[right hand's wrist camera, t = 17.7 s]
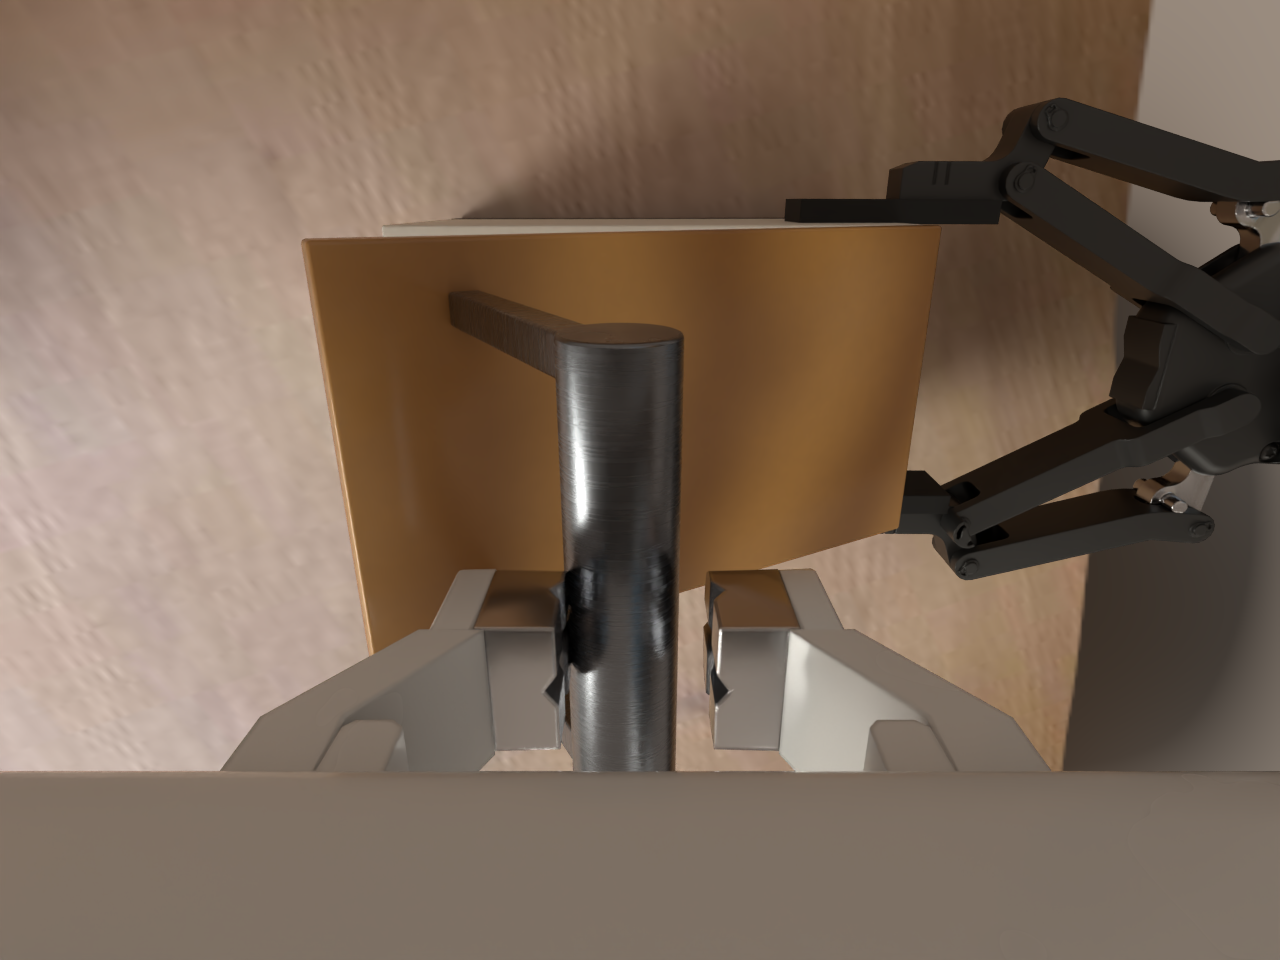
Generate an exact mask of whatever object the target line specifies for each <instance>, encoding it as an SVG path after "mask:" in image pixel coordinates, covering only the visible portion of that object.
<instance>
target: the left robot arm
mask: <svg viewBox="0 0 1280 960" xmlns="http://www.w3.org/2000/svg"><path fill="white" fill-rule="evenodd" d="M1002 134H1003V136H1002V138H1001V140H1000V142H999V144H998V146H997V148H996V149H995V151H994V152H993V153H992V155H991V156H990V157H988V158H987V159H985V160H984V161H918V162H911V163H905V164H902V165H900V166H897V167H895V168H892V169H890V170H889V178H888V186H887V195H886V199H786V206H785V220H784V221H788V222H795V223H908V224H998V222H999V217H1000V213H1002V214H1003V215H1005V216H1006V217H1008V218H1009V219H1011V220H1013V221H1014V222H1016V223H1017V224H1019V225H1020V226H1022V227H1023V228H1025V229H1026V230H1028V231H1029V232H1031V233H1032V234H1034V235H1035V236H1037V237H1038V238H1040V239H1041V240H1043V241H1044V242H1046V243H1047V244H1049V245H1050V246H1052V247H1053V248H1055V249H1056V250H1058V251H1059V252H1061V253H1062V254H1064V255H1066V256H1067V257H1069V258H1070V259H1072V260H1073V261H1075V262H1076V263H1078V264H1079V265H1081V266H1082V267H1084V268H1085V269H1087V270H1088V271H1090V272H1091V273H1093V274H1094V275H1096V276H1097V277H1099V278H1100V279H1102V280H1103V281H1105V282H1106V283H1108V284H1109V285H1110V286H1111V287H1110V288H1111V289H1112V290H1113V291H1114V292H1116V293H1117V294H1119V295H1120V296H1122V297H1123V298H1125V299H1126V300H1128V301H1129V302H1131V303H1132V304H1134V305H1135V306H1137V307H1138V308H1140V310H1139V312H1138V314H1137V315H1136V316H1129V317H1128V321H1127V325H1126V329H1125V334H1124V358H1123V360H1122V362H1121V364H1120V366H1119V368H1118V370H1117V372H1116V374H1115V375H1114V378H1113V382H1112V386H1111V390H1110V394H1109V396H1110V397H1112V399H1110V400H1108V401H1106V402H1104V403H1102V404H1099V405H1097V406H1095V407H1093V408H1091V409H1089V410H1087V411H1085V412H1083V413H1082V414H1081V415H1080V418H1079V420H1078V421H1077V422H1076V423H1074V424H1071V425H1069V426H1067V427H1065V428H1063V429H1061V430H1059V431H1056V432H1054V433H1052V434H1050V435H1048V436H1046V437H1044V438H1042V439H1039V440H1037V441H1035V442H1033V443H1031V444H1029V445H1027V446H1024V447H1022V448H1020V449H1018V450H1016V451H1014V452H1012V453H1010V454H1007V455H1005V456H1003V457H1001V458H999V459H997V460H995V461H992V462H990V463H988V464H986V465H984V466H982V467H980V468H978V469H975V470H973V471H971V472H969V473H967V474H965V475H963V476H960V477H958V478H956V479H954V480H952V481H950V482H948V483H946V484H943V485H941V486H940V485H939V484H938V483H937V482H936V481H935V480H934V479H933V478H932V477H931V476H930V475H929V474H928V473H927V472H926V471H907V472H906V479H905V486H904V493H903V500H902V507H901V514H900V521H899V527H898V528H897V529H894V530H890V531H887V532H884V533H885V534H894V533H896V534H933V536H934V537H933V539H932V544H933V547H934V548H935V550H936V551H937V552H938V553H939V554H940V556H941V557H942V558H943V559H944V560H945V562H946V563H947V564H948V565H949V566H950V568H951V569H952V570H953V571H954V572H955V574H956V575H957V576H958V577H959V578H961V579H964V580H973V579H977V578H982V577H986V576H991V575H995V574H1000V573H1004V572H1009V571H1013V570H1018V569H1022V568H1027V567H1031V566H1036V565H1040V564H1044V563H1049V562H1053V561H1058V560H1062V559H1067V558H1071V557H1076V556H1080V555H1085V554H1089V553H1094V552H1098V551H1102V550H1107V549H1111V548H1116V547H1120V546H1125V545H1129V544H1134V543H1138V542H1143V541H1147V540H1161V541H1173V542H1185V543H1199V542H1201V541H1204V540H1206V539H1207V538H1208V537H1209V536H1210V535H1211V534H1212V532H1213V531H1214V527H1215V524H1214V520H1213V519H1212V518H1211V517H1210V516H1208V515H1206V514H1204V513H1202V512H1201V508H1202V506H1203V503H1204V501H1205V498H1206V496H1207V493H1208V491H1209V488H1210V486H1211V484H1212V481H1213V479H1214V476H1215V475H1221V474H1224V473H1227V472H1230V471H1232V470H1234V469H1236V468H1239V467H1241V466H1245V465H1248V464H1253V463H1267V464H1280V160H1276V161H1260V162H1259V161H1256V160H1253V159H1250V158H1247V157H1244V156H1240V155H1237V154H1234V153H1231V152H1228V151H1225V150H1222V149H1219V148H1216V147H1213V146H1210V145H1207V144H1204V143H1201V142H1198V141H1195V140H1192V139H1189V138H1186V137H1182V136H1179V135H1176V134H1173V133H1170V132H1167V131H1164V130H1161V129H1158V128H1155V127H1152V126H1149V125H1146V124H1143V123H1140V122H1137V121H1134V120H1131V119H1128V118H1125V117H1122V116H1118V115H1115V114H1112V113H1109V112H1106V111H1103V110H1100V109H1097V108H1094V107H1091V106H1088V105H1085V104H1082V103H1079V102H1076V101H1073V100H1070V99H1067V98H1056V99H1052V100H1048V101H1044V102H1040V103H1036V104H1032V105H1028V106H1024V107H1020V108H1017V109H1014V110H1013V111H1012V112H1011V113H1009V114H1008V115H1007V117H1006V119H1005V120H1004V122H1003V126H1002ZM1049 157H1050V158H1054V159H1057V160H1060V161H1063V162H1066V163H1069V164H1072V165H1075V166H1079V167H1082V168H1085V169H1088V170H1091V171H1094V172H1097V173H1101V174H1104V175H1107V176H1110V177H1113V178H1116V179H1119V180H1123V181H1126V182H1129V183H1132V184H1135V185H1138V186H1141V187H1145V188H1148V189H1151V190H1154V191H1157V192H1160V193H1163V194H1166V195H1170V196H1173V197H1176V198H1180V199H1184V200H1189V201H1198V202H1213V203H1212V205H1211V207H1210V212H1211V214H1212V215H1214V216H1217V219H1218V221H1219V222H1220V223H1222V224H1223V225H1228V226H1232V227H1234V228H1236V229H1237V231H1238V232H1239V234H1240V244H1237V245H1235V246H1233V247H1231V248H1229V249H1228V250H1226V251H1225V252H1223V253H1221V254H1220V255H1218V256H1217V257H1215V258H1213V259H1212V260H1210V261H1208V262H1207V263H1205V264H1204V265H1202V266H1200V267H1199V268H1197V267H1194V266H1192V265H1189V264H1186V263H1184V262H1181V261H1179V260H1177V259H1176V258H1174V257H1173V256H1171V255H1170V254H1168V253H1167V252H1166V251H1164V250H1163V249H1161V248H1160V247H1158V246H1157V245H1155V244H1154V243H1152V242H1151V241H1149V240H1148V239H1147V238H1145V237H1144V236H1142V235H1141V234H1139V233H1138V232H1136V231H1135V230H1133V229H1132V228H1130V227H1129V226H1127V225H1126V224H1125V223H1123V222H1122V221H1120V220H1119V219H1117V218H1116V217H1114V216H1113V215H1111V214H1110V213H1108V212H1107V211H1106V210H1104V209H1103V208H1101V207H1100V206H1098V205H1097V204H1095V203H1094V202H1092V201H1091V200H1089V199H1088V198H1086V197H1085V196H1084V195H1082V194H1081V193H1079V192H1078V191H1076V190H1075V189H1073V188H1072V187H1070V186H1069V185H1067V184H1066V183H1065V182H1063V181H1062V180H1060V179H1059V178H1057V177H1056V176H1054V175H1053V174H1051V173H1050V172H1048V171H1047V170H1045V169H1044V167H1045V165H1046V163H1047V161H1048V159H1049ZM1166 456H1167V457H1169V458H1170V459H1171V460H1172V461H1174V462H1175V464H1174V466H1173V468H1172V469H1171V470H1170V471H1169V472H1168V473H1167V474H1165V475H1163V476H1161V477H1157V478H1151V479H1148V480H1146V479H1138V480H1137V481H1136V482H1135V483H1134V485H1133V489H1111V490H1106V491H1100V492H1096V493H1092V494H1087V495H1083V496H1079V497H1074V498H1070V499H1066V500H1061V501H1057V502H1053V503H1049V504H1044V505H1041V504H1043V503H1045V502H1048V501H1050V500H1052V499H1054V498H1056V497H1059V496H1061V495H1063V494H1065V493H1067V492H1070V491H1072V490H1074V489H1076V488H1079V487H1081V486H1083V485H1085V484H1087V483H1090V482H1092V481H1094V480H1096V479H1098V478H1101V477H1103V476H1105V475H1107V474H1110V473H1112V472H1114V471H1116V470H1118V469H1121V468H1124V467H1141V466H1145V465H1148V464H1151V463H1153V462H1155V461H1157V460H1160V459H1162V458H1164V457H1166ZM1039 505H1040V506H1039ZM880 534H883V533H880Z"/></svg>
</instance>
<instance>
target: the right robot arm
mask: <svg viewBox="0 0 1280 960" xmlns="http://www.w3.org/2000/svg"><path fill="white" fill-rule="evenodd" d="M705 605H706V612H707V619H708V622H707V623H706V624H705V626H704V630H703V668H704V680H705V689H706V693H707V694H708V695H710V697H709V718H710V725H711V732H712V739H713V746H714V749H725V750H762V751H779V754H780V755H781V756H782V757H783V759H784V760H785V761H786V762H787V763H788V764H789V765H790V766H791V767H792V768H793V769H794V770H795V771H479V770H480V769H481V768H482V767H483V766H484V765H485V764H486V763H487V762H488V761H489V760H490V759H491V758H492V757H493V756H494V755H495V751H512V750H548V749H560V747H561V740H562V734H563V728H564V721H565V715H566V714H565V695H566V694H567V693H569V686H570V678H571V637H570V631H569V628H568V624H567V616H568V610H569V592H568V571H548V570H496V569H469V570H460V571H459V572H458V573H457V575H456V577H455V579H454V581H453V583H452V585H451V587H450V589H449V591H448V593H447V595H446V597H445V599H444V601H443V603H442V605H441V607H440V609H439V611H438V613H437V615H436V617H435V619H434V621H433V623H432V625H431V627H430V629H419V630H417V631H415V632H413V633H411V634H410V635H408V636H406V637H404V638H402V639H400V640H399V641H397V642H395V643H393V644H391V645H390V646H388V647H386V648H384V649H382V650H380V651H379V652H377V653H375V654H373V655H371V656H370V657H368V658H366V659H364V660H362V661H361V662H359V663H357V664H355V665H353V666H351V667H350V668H348V669H346V670H344V671H342V672H341V673H339V674H337V675H335V676H333V677H331V678H330V679H328V680H326V681H324V682H322V683H321V684H319V685H317V686H315V687H313V688H312V689H310V690H308V691H306V692H304V693H302V694H301V695H299V696H297V697H295V698H293V699H292V700H290V701H288V702H286V703H284V704H283V705H281V706H279V707H277V708H275V709H273V710H272V711H270V712H268V713H266V714H264V715H263V716H261V717H260V718H259V719H258V720H257V722H256V723H255V724H254V726H253V727H252V728H251V730H250V731H249V732H248V734H247V735H246V737H245V738H244V739H243V741H242V742H241V743H240V745H239V746H238V747H237V749H236V750H235V751H234V753H233V754H232V755H231V757H230V758H229V759H228V761H227V762H226V763H225V765H224V766H223V767H222V769H221V770H220V771H0V960H1280V771H1051V770H1050V768H1049V767H1048V766H1047V764H1046V763H1045V761H1044V760H1043V759H1042V757H1041V756H1040V755H1039V753H1038V752H1037V750H1036V749H1035V748H1034V746H1033V745H1032V743H1031V742H1030V741H1029V739H1028V738H1027V737H1026V735H1025V734H1024V732H1023V731H1022V730H1021V728H1020V727H1019V725H1018V724H1017V723H1016V721H1015V720H1014V719H1013V718H1012V717H1011V716H1009V715H1007V714H1005V713H1003V712H1002V711H1000V710H998V709H996V708H995V707H993V706H991V705H989V704H987V703H986V702H984V701H982V700H980V699H978V698H977V697H975V696H973V695H971V694H969V693H968V692H966V691H964V690H962V689H961V688H959V687H957V686H955V685H953V684H952V683H950V682H948V681H946V680H944V679H943V678H941V677H939V676H937V675H935V674H934V673H932V672H930V671H928V670H927V669H925V668H923V667H921V666H919V665H918V664H916V663H914V662H912V661H910V660H909V659H907V658H905V657H903V656H902V655H900V654H898V653H896V652H894V651H893V650H891V649H889V648H887V647H885V646H884V645H882V644H880V643H878V642H876V641H875V640H873V639H871V638H869V637H868V636H866V635H864V634H862V633H860V632H859V631H857V630H855V629H844V628H843V626H842V624H841V622H840V620H839V618H838V616H837V614H836V612H835V610H834V608H833V606H832V604H831V601H830V599H829V597H828V595H827V593H826V591H825V589H824V587H823V585H822V583H821V581H820V579H819V577H818V575H817V573H816V571H814V570H813V569H792V570H778V569H770V570H728V571H708V572H707V573H706V582H705Z"/></svg>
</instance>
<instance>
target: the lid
mask: <svg viewBox="0 0 1280 960" xmlns="http://www.w3.org/2000/svg"><path fill="white" fill-rule="evenodd" d="M940 235H941V227H940V226H938V225H894V226H849V227H804V228H758V229H713V230H668V231H623V232H578V233H533V234H488V235H443V236H397V237H352V238H307V239H304V240H302V242H301V246H302V252H303V258H304V264H305V270H306V277H307V283H308V289H309V295H310V301H311V307H312V313H313V319H314V325H315V331H316V337H317V343H318V349H319V355H320V361H321V367H322V373H323V379H324V386H325V392H326V398H327V404H328V410H329V416H330V422H331V428H332V434H333V440H334V446H335V452H336V458H337V464H338V470H339V476H340V482H341V488H342V495H343V501H344V507H345V513H346V519H347V525H348V531H349V537H350V543H351V549H352V555H353V561H354V567H355V573H356V579H357V585H358V591H359V598H360V604H361V610H362V616H363V622H364V628H365V634H366V640H367V646H368V652H369V657H370V656H371V655H373V654H375V653H377V652H379V651H380V650H382V649H384V648H386V647H388V646H390V645H391V644H393V643H395V642H397V641H399V640H400V639H402V638H404V637H406V636H408V635H410V634H411V633H413V632H415V631H417V630H419V629H430V627H431V625H432V623H433V621H434V619H435V617H436V615H437V613H438V611H439V609H440V607H441V605H442V603H443V601H444V599H445V597H446V595H447V593H448V591H449V589H450V587H451V585H452V583H453V581H454V579H455V577H456V575H457V573H458V572H459V571H460V570H469V569H496V570H548V571H568V592H569V610H568V616H567V624H568V628H569V631H570V637H571V678H570V686H569V693H567V694H566V695H565V714H566V715H565V721H564V728H563V734H562V740H561V742H562V744H563V745H564V747H565V748H566V750H567V752H568V753H569V755H570V756H571V758H572V759H573V771H675V757H676V709H677V662H678V615H679V593H681V592H684V591H687V590H691V589H694V588H698V587H701V586H704V585H705V582H706V573H707V572H708V571H728V570H759V569H762V568H765V567H769V566H772V565H775V564H779V563H782V562H786V561H789V560H792V559H796V558H799V557H802V556H806V555H809V554H813V553H816V552H819V551H823V550H826V549H830V548H833V547H836V546H840V545H843V544H846V543H850V542H853V541H857V540H860V539H863V538H867V537H870V536H874V535H877V534H880V533H884V532H887V531H890V530H894V529H897V528H898V527H899V521H900V514H901V507H902V500H903V493H904V486H905V479H906V472H907V465H908V458H909V451H910V445H911V438H912V431H913V424H914V417H915V410H916V403H917V396H918V389H919V382H920V375H921V368H922V361H923V354H924V347H925V340H926V333H927V326H928V319H929V312H930V305H931V298H932V291H933V284H934V277H935V270H936V263H937V256H938V249H939V242H940Z"/></svg>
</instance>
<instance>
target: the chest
mask: <svg viewBox="0 0 1280 960" xmlns="http://www.w3.org/2000/svg"><path fill="white" fill-rule="evenodd" d="M784 220H785V218H458V219H451V220H440V221H428V222H417V223H405V224H394V225H383V226H382V233H383V237H397V236H443V235H488V234H533V233H578V232H623V231H668V230H713V229H758V228H804V227H849V226H894V225H920V224H908V223H795V222H788V221H784Z"/></svg>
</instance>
